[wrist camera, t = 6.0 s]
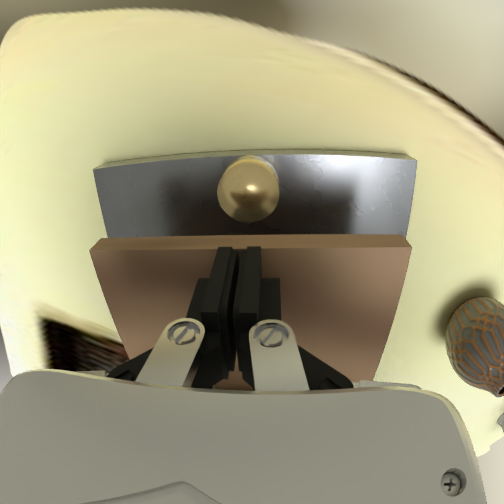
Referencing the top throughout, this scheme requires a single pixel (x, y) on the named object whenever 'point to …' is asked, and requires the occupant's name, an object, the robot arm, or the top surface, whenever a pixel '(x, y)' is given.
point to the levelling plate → (273, 266)
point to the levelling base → (299, 198)
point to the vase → (478, 344)
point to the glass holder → (501, 421)
